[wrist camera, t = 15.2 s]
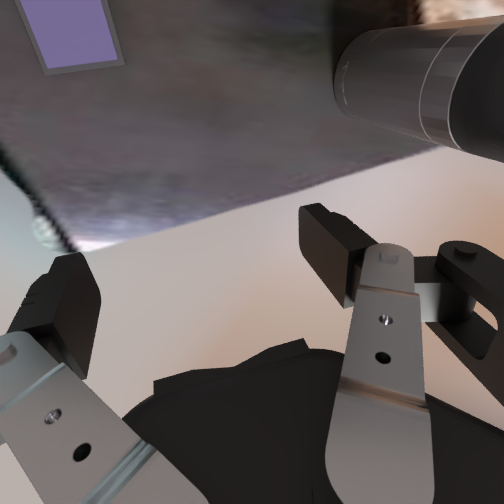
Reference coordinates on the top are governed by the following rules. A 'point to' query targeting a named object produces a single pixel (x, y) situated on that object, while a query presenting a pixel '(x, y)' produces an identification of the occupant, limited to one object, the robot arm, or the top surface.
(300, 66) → the top surface
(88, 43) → the ink pad
